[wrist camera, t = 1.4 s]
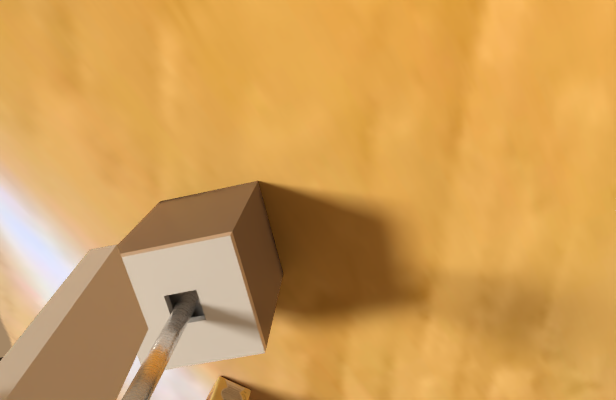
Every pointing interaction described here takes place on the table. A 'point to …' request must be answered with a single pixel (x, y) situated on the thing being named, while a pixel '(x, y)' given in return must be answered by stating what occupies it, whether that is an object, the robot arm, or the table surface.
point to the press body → (207, 272)
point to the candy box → (228, 391)
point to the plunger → (164, 345)
